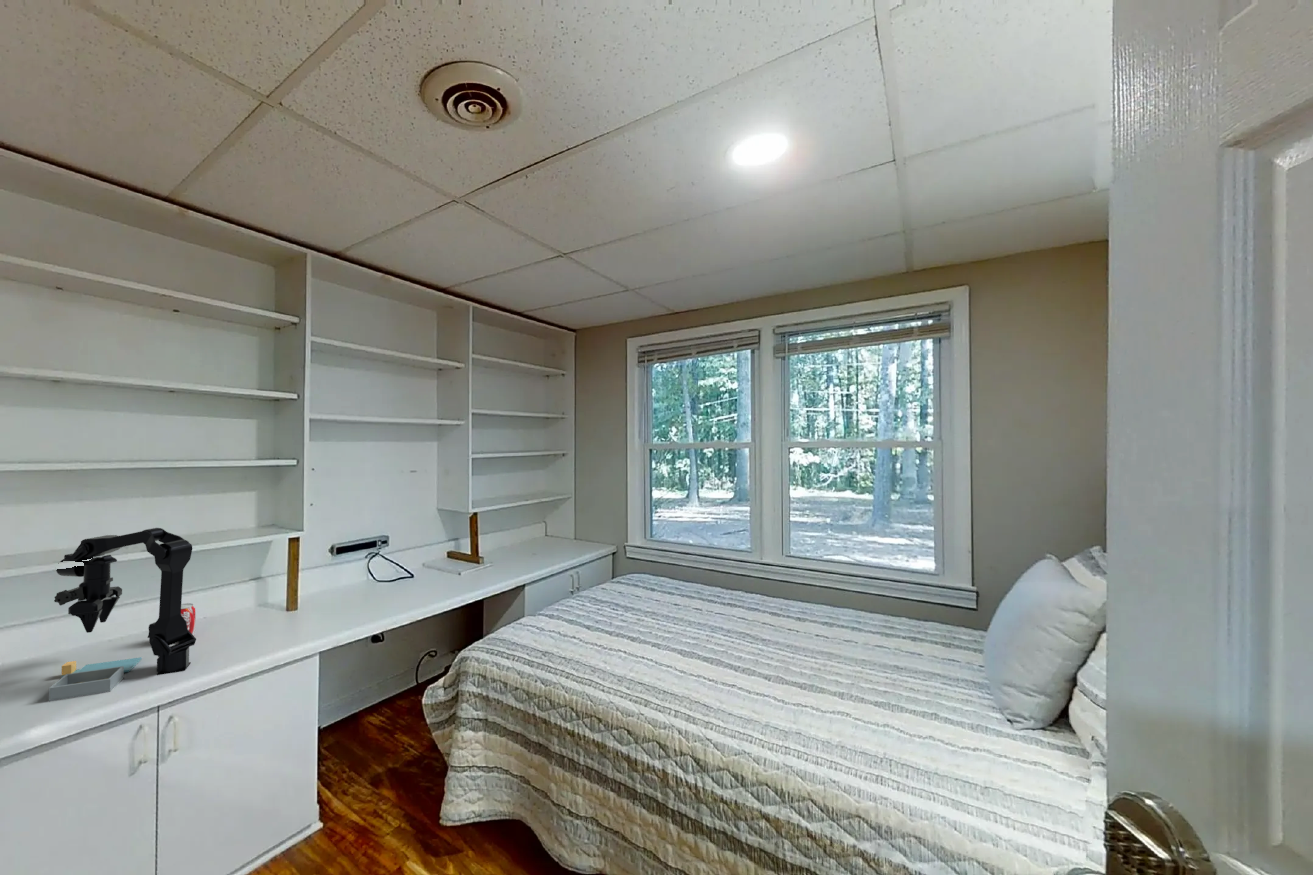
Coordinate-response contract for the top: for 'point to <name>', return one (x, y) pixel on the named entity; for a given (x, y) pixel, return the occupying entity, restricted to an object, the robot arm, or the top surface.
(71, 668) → the lid
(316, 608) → the top surface
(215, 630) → the top surface
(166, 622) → the robot arm
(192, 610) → the soda can
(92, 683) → the tub
